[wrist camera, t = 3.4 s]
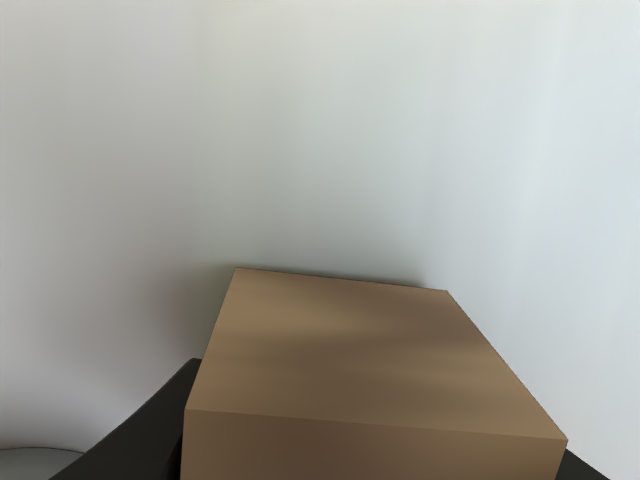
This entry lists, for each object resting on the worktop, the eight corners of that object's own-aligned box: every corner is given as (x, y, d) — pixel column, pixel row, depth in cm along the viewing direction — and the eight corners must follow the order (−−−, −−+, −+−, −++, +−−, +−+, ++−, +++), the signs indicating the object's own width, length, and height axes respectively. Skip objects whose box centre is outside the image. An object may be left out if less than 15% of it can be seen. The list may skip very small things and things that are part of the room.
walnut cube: (446, 290, 11) (568, 440, 6) (406, 461, 12) (479, 692, 7) (235, 267, 10) (184, 408, 6) (219, 447, 12) (167, 685, 7)
